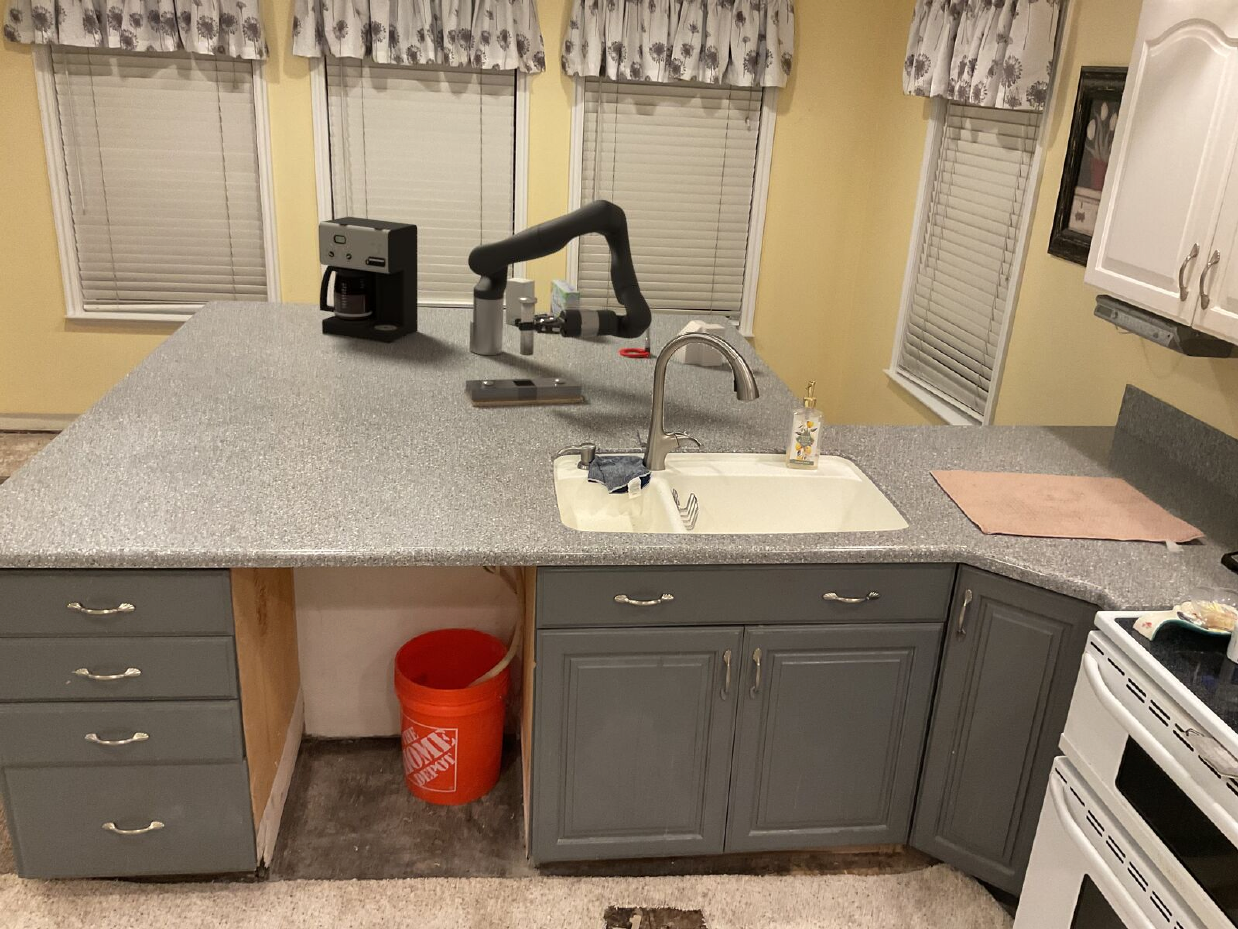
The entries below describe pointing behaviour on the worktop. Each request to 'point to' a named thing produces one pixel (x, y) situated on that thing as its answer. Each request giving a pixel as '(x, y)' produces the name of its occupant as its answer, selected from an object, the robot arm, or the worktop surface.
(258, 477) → the worktop surface
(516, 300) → the skincare box
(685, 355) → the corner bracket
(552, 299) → the snack box
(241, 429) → the worktop surface
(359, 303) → the coffee maker
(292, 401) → the worktop surface
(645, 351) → the tow hook
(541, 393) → the pin socket base plate
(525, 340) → the steel pin
